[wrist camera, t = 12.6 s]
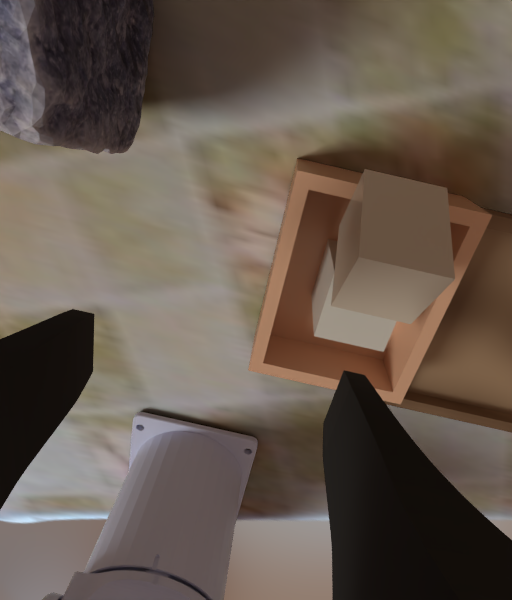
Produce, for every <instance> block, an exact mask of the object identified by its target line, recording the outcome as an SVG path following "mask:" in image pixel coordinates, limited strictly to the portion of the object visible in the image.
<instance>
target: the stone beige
mask: <svg viewBox="0 0 512 600" xmlns="http://www.w3.org/2000/svg"><path fill="white" fill-rule="evenodd" d="M454 280H455V273H454V261H453V250H452V238H451V227H450V215H449V203H448V192H447V188H445V187H441V186H437V185H432V184H428V183H424V182H419V181H415V180H411V179H406V178H402V177H398V176H393V175H389V174H385V173H380V172H376V171H372V170H368V169H364V172H363V174H362V176H361V178H360V181H359V183H358V185H357V187H356V189H355V192H354V194H353V196H352V198H351V200H350V203H349V205H348V207H347V209H346V212H345V214H344V216H343V218H342V220H341V223H340V225H339V234H338V243H337V253H336V262H335V272H334V281H333V291H332V300H331V306H333V307H337V308H342V309H346V310H350V311H355V312H359V313H364V314H368V315H372V316H377V317H381V318H386V319H390V320H394V321H399V322H403V323H407V324H411V323H412V322H413V321H414V320H415V319H416V318H417V317H418V316H419V315H420V314H421V313H422V312H423V311H424V310H425V309H426V308H427V307H428V306H429V305H430V304H431V303H432V302H433V301H434V300H435V299H436V298H437V297H438V296H439V295H440V294H441V293H442V292H443V291H444V290H445V289H446V288H447V287H448V286H449V285H450V284H451V283H452V282H453V281H454Z"/></svg>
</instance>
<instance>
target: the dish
mask: <svg viewBox="0 0 512 600" xmlns="http://www.w3.org/2000/svg"><path fill="white" fill-rule="evenodd" d="M362 174H363V173H360V172H355V171H351V170H347V169H342V168H338V167H334V166H329V165H325V164H321V163H316V162H312V161H308V160H303V159H299V158H297V162H296V166H295V170H294V174H293V179H292V183H291V187H290V191H289V195H288V199H287V203H286V208H285V212H284V216H283V220H282V224H281V228H280V232H279V237H278V241H277V245H276V249H275V253H274V257H273V262H272V266H271V270H270V274H269V278H268V282H267V286H266V291H265V295H264V299H263V303H262V307H261V311H260V315H259V320H258V324H257V328H256V332H255V336H254V342H253V347H252V353H251V358H250V364H249V369H248V370H249V371H254V372H258V373H263V374H267V375H271V376H276V377H280V378H285V379H289V380H294V381H298V382H303V383H307V384H311V385H316V386H320V387H325V388H329V389H334V390H336V389H337V386H338V384H339V381H340V379H341V376H342V373H343V371H344V370H345V371H350V372H354V373H359V374H363V375H365V376H366V377H367V378H368V380H369V381H370V383H371V384H372V385H373V387H374V388H375V390H376V391H377V393H378V394H379V395H380V397H381V398H382V400H383V401H387V402H392V403H396V404H400V405H401V403H402V401H403V398H404V396H405V394H406V392H407V390H408V388H409V386H410V384H411V382H412V380H413V378H414V376H415V374H416V372H417V370H418V368H419V366H420V363H421V361H422V359H423V357H424V355H425V353H426V351H427V349H428V347H429V345H430V343H431V341H432V339H433V337H434V335H435V333H436V330H437V328H438V326H439V324H440V322H441V320H442V318H443V316H444V314H445V312H446V310H447V308H448V306H449V304H450V302H451V300H452V298H453V295H454V293H455V291H456V289H457V287H458V285H459V283H460V281H461V279H462V277H463V275H464V273H465V271H466V269H467V267H468V265H469V263H470V260H471V258H472V256H473V254H474V252H475V250H476V248H477V246H478V244H479V242H480V240H481V238H482V236H483V234H484V232H485V230H486V228H487V225H488V223H489V221H490V219H491V217H492V215H491V214H490V213H488V212H487V211H485V210H484V209H482V208H480V207H479V206H477V205H476V204H474V203H473V202H471V201H469V200H468V199H466V198H465V197H463V196H460V195H455V194H451V193H448V203H449V215H450V227H451V238H452V250H453V261H454V273H455V280H454V281H453V282H452V283H451V284H450V285H449V286H448V287H447V288H446V289H445V290H444V291H443V292H442V293H441V294H440V295H439V296H438V297H437V298H436V299H435V300H434V301H433V302H432V303H431V304H430V305H429V306H428V307H427V308H426V309H425V310H424V311H423V312H422V313H421V314H420V315H419V316H418V317H417V318H416V319H415V320H414V321H413V322H412V323H411V324H407V323H403V322H399V321H397V322H396V324H395V326H394V329H393V331H392V333H391V336H390V338H389V340H388V343H387V345H386V348H385V350H384V352H382V351H377V350H373V349H369V348H364V347H360V346H355V345H351V344H346V343H342V342H337V341H333V340H328V339H324V338H320V337H315V336H314V329H313V312H312V296H311V294H312V291H313V287H314V284H315V281H316V277H317V274H318V271H319V267H320V264H321V261H322V257H323V254H324V251H325V247H326V244H327V241H328V239H330V240H335V241H338V234H339V225H340V223H341V220H342V218H343V216H344V214H345V212H346V209H347V207H348V205H349V203H350V200H351V198H352V196H353V194H354V192H355V189H356V187H357V185H358V183H359V181H360V178H361V176H362Z"/></svg>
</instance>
